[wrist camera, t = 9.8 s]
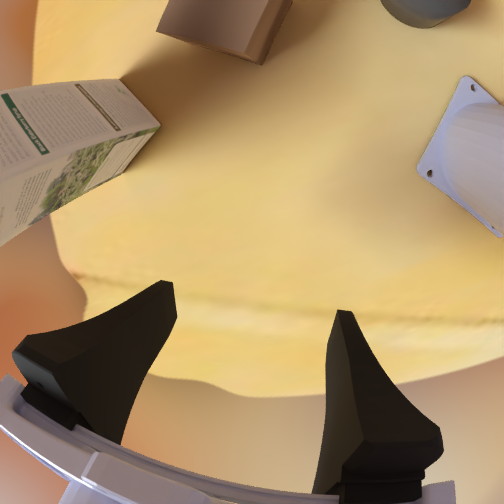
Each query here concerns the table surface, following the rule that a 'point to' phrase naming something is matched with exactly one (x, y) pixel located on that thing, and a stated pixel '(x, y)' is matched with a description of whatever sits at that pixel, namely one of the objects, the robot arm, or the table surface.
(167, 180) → the table surface
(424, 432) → the robot arm
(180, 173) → the table surface
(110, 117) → the syrup box
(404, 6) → the charcoal cylinder
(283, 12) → the walnut block
